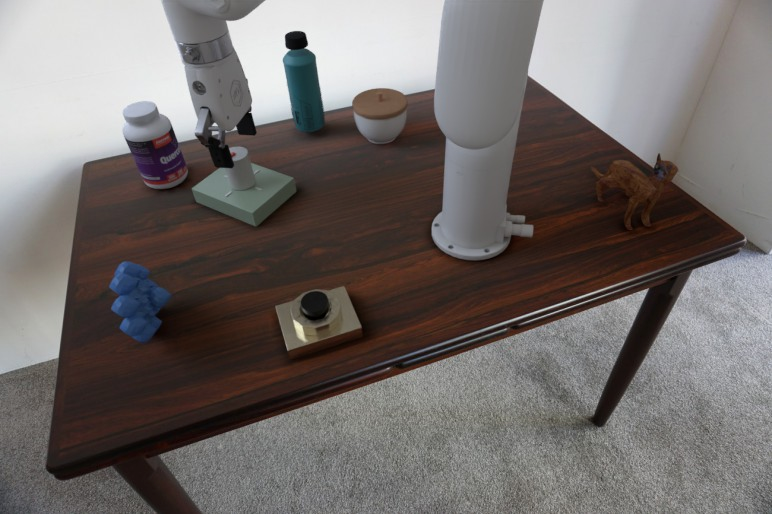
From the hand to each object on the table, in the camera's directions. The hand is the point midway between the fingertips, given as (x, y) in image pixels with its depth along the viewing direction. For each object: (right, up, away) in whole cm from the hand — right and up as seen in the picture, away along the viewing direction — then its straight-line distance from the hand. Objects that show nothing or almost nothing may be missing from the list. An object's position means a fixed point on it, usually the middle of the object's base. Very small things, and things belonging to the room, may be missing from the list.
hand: (236, 150), depth 86 cm
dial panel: (0, -7, +7) cm, 10 cm away
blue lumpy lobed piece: (-7, -28, -13) cm, 32 cm away
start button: (+15, -25, -17) cm, 34 cm away
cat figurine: (+64, -9, +2) cm, 64 cm away
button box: (+15, -27, -14) cm, 34 cm away
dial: (0, -5, +5) cm, 7 cm away
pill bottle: (-16, -3, +12) cm, 21 cm away
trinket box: (+24, +7, +20) cm, 32 cm away
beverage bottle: (+9, +8, +22) cm, 26 cm away
